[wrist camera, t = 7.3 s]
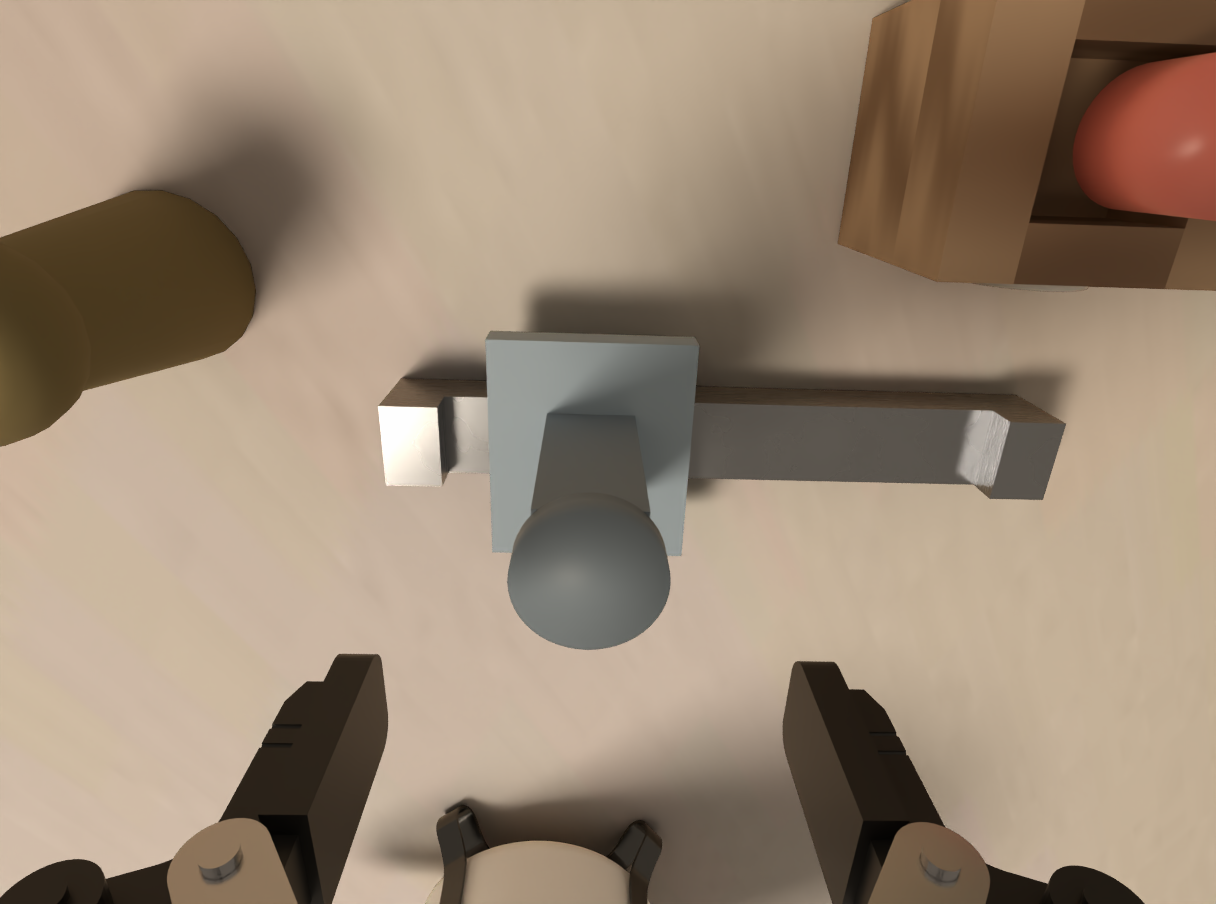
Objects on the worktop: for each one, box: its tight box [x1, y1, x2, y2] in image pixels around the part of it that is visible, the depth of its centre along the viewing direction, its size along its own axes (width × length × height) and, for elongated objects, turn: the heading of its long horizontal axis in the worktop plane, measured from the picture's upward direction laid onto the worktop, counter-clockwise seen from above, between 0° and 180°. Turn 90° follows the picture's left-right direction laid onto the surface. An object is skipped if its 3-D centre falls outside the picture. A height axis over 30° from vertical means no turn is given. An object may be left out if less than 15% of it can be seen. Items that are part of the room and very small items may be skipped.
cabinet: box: [838, 0, 1216, 292], centre depth 21 cm, size 7×8×8 cm
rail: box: [378, 378, 1066, 500], centre depth 27 cm, size 3×24×3 cm, turn 88°
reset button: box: [1073, 52, 1216, 221], centre depth 15 cm, size 3×3×3 cm
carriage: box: [485, 331, 699, 650], centre depth 23 cm, size 8×7×11 cm
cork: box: [0, 190, 256, 447], centre depth 21 cm, size 6×6×11 cm
